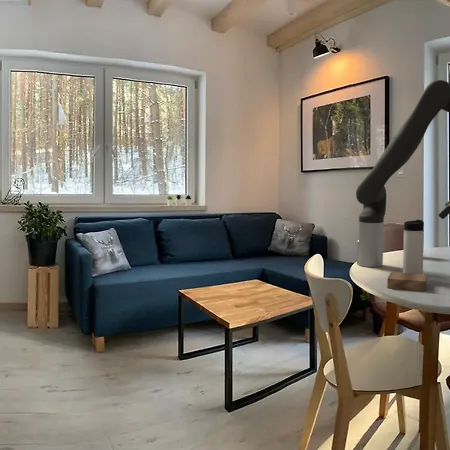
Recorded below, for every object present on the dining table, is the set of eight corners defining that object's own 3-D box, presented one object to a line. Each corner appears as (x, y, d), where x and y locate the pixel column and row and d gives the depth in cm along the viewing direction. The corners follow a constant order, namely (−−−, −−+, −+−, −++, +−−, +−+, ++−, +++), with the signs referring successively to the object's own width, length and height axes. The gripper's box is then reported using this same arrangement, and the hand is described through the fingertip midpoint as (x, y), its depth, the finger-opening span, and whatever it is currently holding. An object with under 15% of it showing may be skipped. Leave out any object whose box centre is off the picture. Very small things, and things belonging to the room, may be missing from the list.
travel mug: (427, 278, 156) (428, 220, 154) (415, 281, 152) (416, 221, 150) (410, 275, 161) (411, 219, 159) (399, 278, 157) (400, 220, 155)
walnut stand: (387, 287, 143) (387, 278, 143) (390, 280, 153) (391, 272, 153) (425, 291, 139) (425, 281, 138) (426, 283, 149) (426, 274, 148)
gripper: (464, 176, 159) (429, 209, 161) (485, 175, 145) (446, 212, 147) (479, 191, 159) (444, 224, 161) (501, 192, 145) (463, 228, 147)
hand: (445, 218), depth 154 cm, fingers open, 8 cm apart
